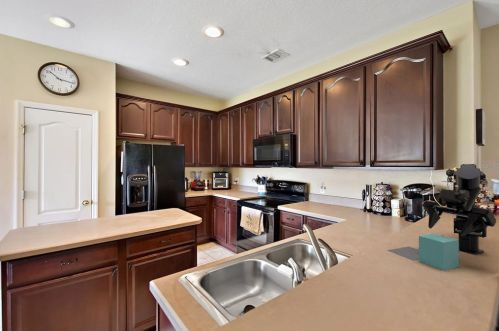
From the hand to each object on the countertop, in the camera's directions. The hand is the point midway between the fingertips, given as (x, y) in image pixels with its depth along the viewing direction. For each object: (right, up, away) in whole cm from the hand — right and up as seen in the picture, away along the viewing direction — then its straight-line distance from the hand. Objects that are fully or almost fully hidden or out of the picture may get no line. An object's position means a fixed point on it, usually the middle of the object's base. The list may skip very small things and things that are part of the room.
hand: (444, 231), depth 76 cm
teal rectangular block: (-3, -11, -1) cm, 11 cm away
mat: (-6, -11, +8) cm, 14 cm away
